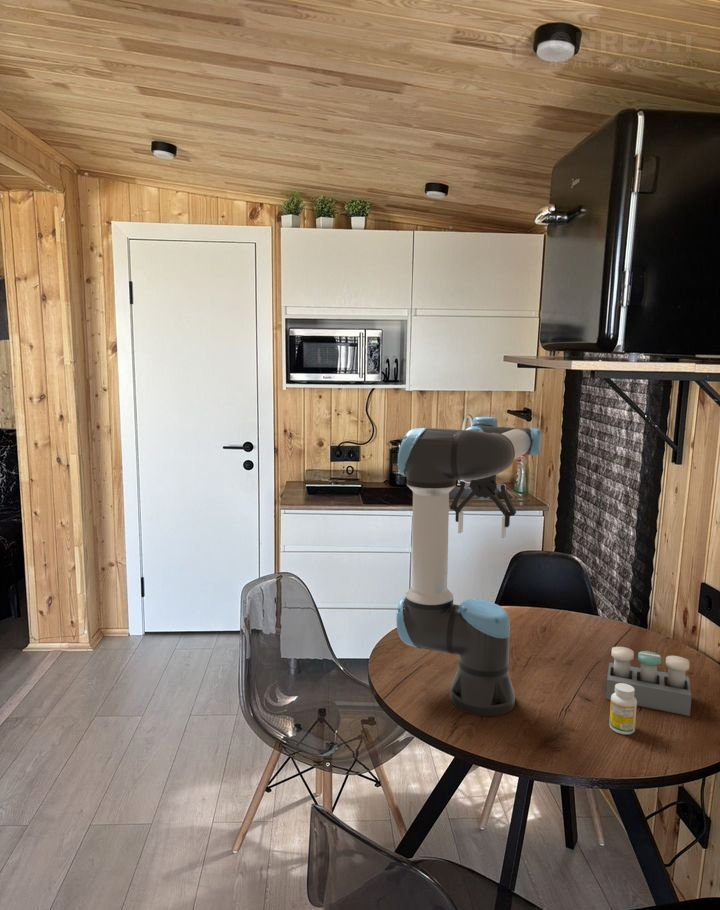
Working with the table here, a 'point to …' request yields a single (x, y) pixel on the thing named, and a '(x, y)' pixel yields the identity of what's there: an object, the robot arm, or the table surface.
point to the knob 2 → (676, 671)
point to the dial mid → (649, 666)
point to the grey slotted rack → (653, 691)
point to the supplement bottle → (623, 709)
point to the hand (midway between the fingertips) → (481, 534)
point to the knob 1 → (622, 661)
